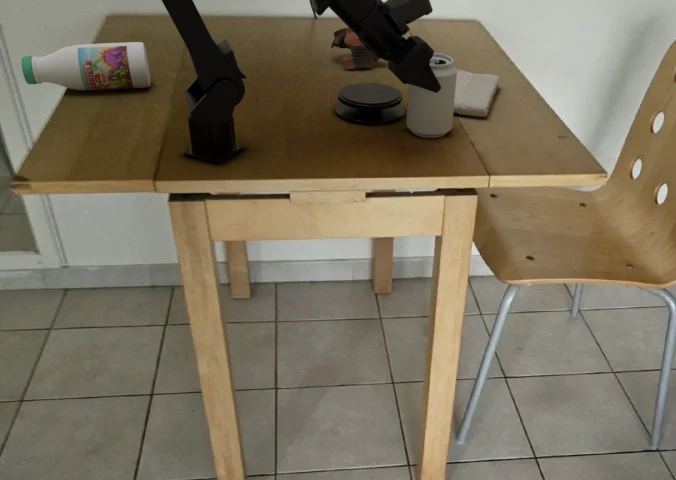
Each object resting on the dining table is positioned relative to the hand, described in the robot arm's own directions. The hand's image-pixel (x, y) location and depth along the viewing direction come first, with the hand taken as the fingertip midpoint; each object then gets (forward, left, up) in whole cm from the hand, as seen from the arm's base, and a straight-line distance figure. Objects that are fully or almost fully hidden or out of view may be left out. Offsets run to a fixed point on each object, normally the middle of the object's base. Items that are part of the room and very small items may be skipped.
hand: (427, 80), depth 112 cm
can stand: (+3, +11, -8) cm, 15 cm away
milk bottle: (-6, +51, -5) cm, 51 cm away
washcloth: (+17, 0, -9) cm, 19 cm away
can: (+1, -1, -9) cm, 9 cm away
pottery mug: (+26, +24, -9) cm, 36 cm away
